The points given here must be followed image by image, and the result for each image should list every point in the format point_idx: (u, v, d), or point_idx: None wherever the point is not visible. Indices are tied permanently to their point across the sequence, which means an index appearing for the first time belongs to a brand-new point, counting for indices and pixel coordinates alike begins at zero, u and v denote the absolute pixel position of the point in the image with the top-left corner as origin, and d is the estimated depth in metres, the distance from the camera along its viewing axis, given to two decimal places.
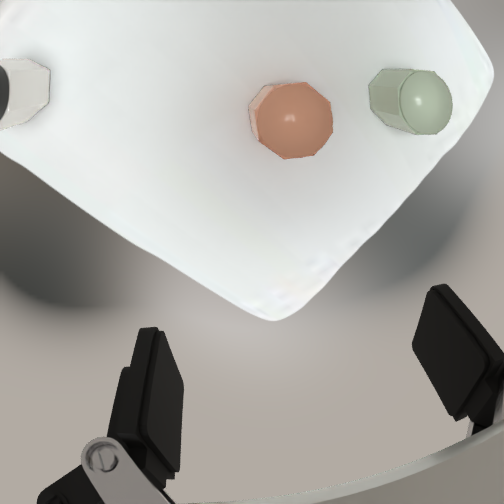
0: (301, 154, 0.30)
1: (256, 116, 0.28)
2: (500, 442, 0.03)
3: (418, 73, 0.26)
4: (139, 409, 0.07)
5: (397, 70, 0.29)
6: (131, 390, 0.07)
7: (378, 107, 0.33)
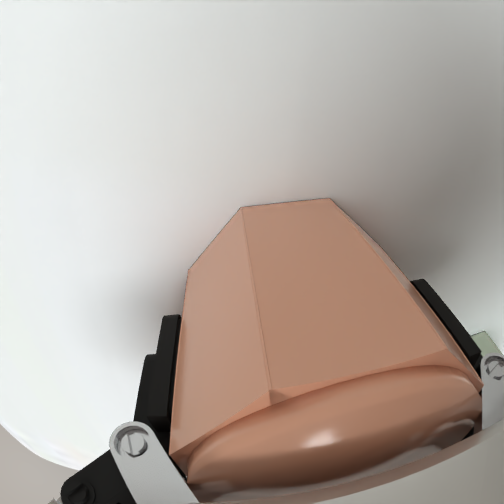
0: None
1: (249, 410, 0.05)
2: (500, 442, 0.03)
3: None
4: (168, 392, 0.07)
5: None
6: (159, 374, 0.07)
7: None
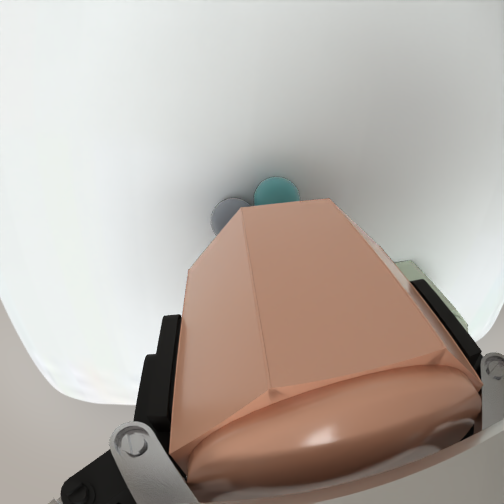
0: None
1: (249, 409, 0.05)
2: (500, 442, 0.03)
3: None
4: (169, 392, 0.07)
5: (433, 286, 0.22)
6: (159, 374, 0.07)
7: None
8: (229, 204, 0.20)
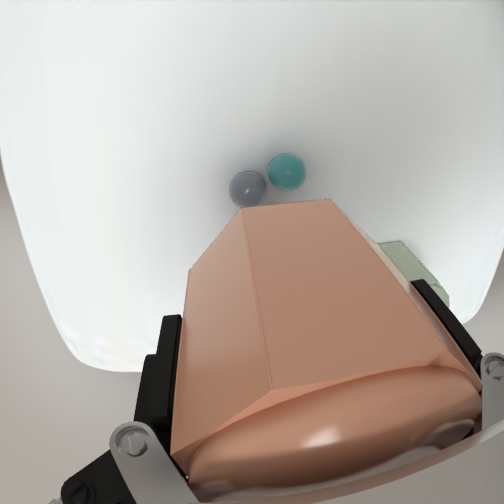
0: None
1: (250, 411, 0.05)
2: (500, 442, 0.03)
3: (438, 289, 0.24)
4: (168, 392, 0.07)
5: (418, 262, 0.27)
6: (159, 374, 0.07)
7: None
8: (244, 172, 0.25)
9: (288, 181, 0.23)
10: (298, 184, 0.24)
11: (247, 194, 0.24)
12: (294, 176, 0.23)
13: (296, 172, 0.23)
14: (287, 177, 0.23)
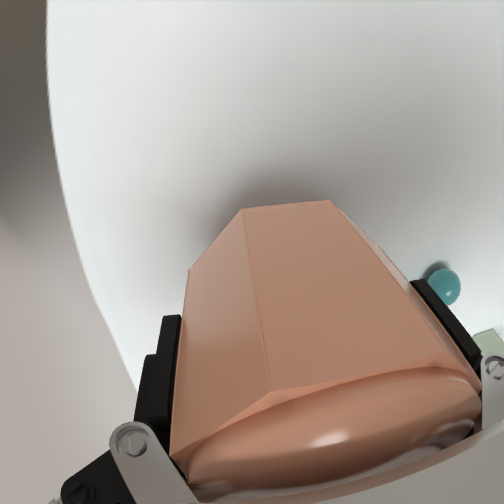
0: None
1: (249, 412, 0.05)
2: (500, 442, 0.03)
3: None
4: (168, 392, 0.07)
5: None
6: (159, 374, 0.07)
7: None
8: None
9: (451, 288, 0.20)
10: (458, 292, 0.20)
11: None
12: (454, 282, 0.20)
13: (455, 278, 0.20)
14: (449, 283, 0.20)
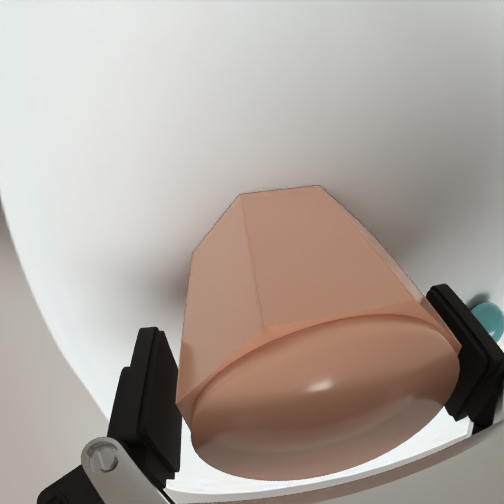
0: (256, 475, 0.08)
1: (245, 350, 0.06)
2: (500, 442, 0.03)
3: None
4: (139, 409, 0.07)
5: None
6: (131, 390, 0.07)
7: None
8: None
9: (491, 311, 0.15)
10: (501, 315, 0.15)
11: None
12: (493, 306, 0.15)
13: (492, 304, 0.16)
14: (487, 308, 0.15)
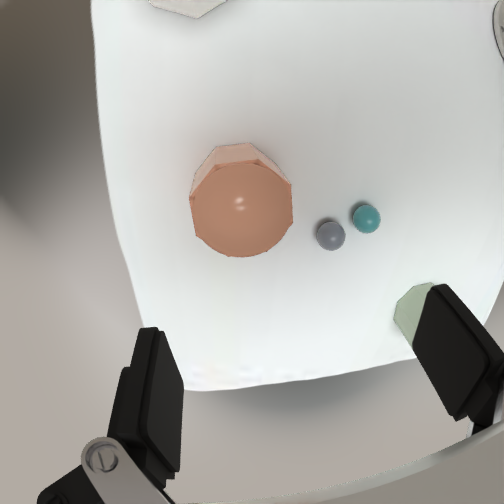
0: (216, 247, 0.24)
1: (210, 172, 0.22)
2: (500, 442, 0.03)
3: None
4: (139, 409, 0.07)
5: None
6: (131, 390, 0.07)
7: (407, 310, 0.38)
8: None
9: (363, 205, 0.32)
10: (371, 206, 0.31)
11: (324, 223, 0.33)
12: None
13: None
14: (361, 206, 0.32)
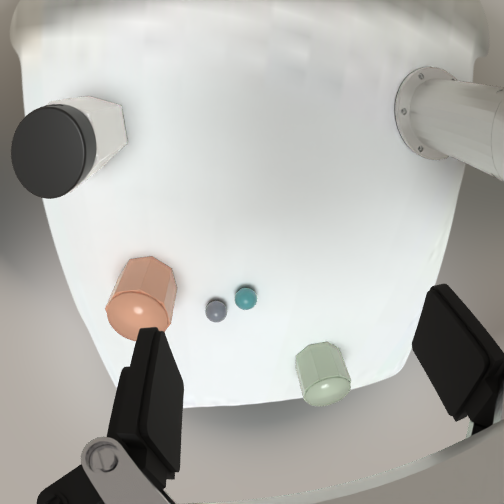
0: (126, 336, 0.36)
1: (113, 296, 0.34)
2: (500, 442, 0.03)
3: (339, 380, 0.44)
4: (139, 409, 0.07)
5: (332, 360, 0.47)
6: (131, 390, 0.07)
7: (300, 364, 0.49)
8: None
9: None
10: (248, 288, 0.43)
11: None
12: None
13: None
14: None
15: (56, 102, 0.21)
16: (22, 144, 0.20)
